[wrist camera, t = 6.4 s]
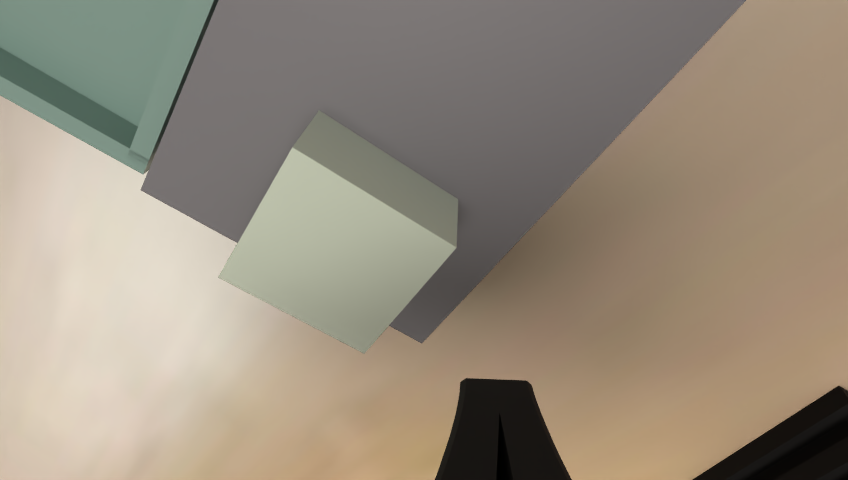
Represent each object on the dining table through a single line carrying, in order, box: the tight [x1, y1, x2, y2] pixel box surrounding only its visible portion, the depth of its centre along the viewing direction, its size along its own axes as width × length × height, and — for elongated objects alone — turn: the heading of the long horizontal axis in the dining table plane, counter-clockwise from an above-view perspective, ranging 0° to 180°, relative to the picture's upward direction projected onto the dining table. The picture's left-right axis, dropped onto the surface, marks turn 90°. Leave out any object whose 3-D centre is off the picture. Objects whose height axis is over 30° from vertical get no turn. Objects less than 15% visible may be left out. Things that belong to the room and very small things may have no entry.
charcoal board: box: [141, 0, 746, 343], centre depth 15 cm, size 10×14×2 cm
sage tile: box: [218, 110, 458, 353], centre depth 14 cm, size 4×4×2 cm
